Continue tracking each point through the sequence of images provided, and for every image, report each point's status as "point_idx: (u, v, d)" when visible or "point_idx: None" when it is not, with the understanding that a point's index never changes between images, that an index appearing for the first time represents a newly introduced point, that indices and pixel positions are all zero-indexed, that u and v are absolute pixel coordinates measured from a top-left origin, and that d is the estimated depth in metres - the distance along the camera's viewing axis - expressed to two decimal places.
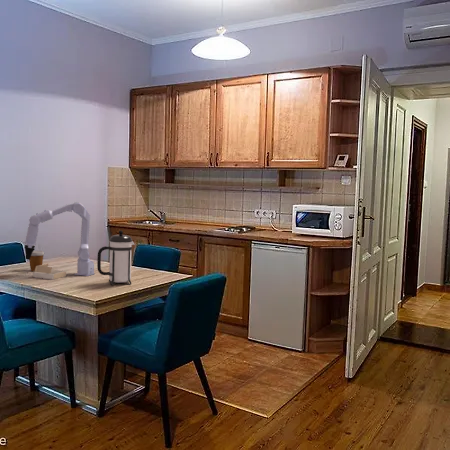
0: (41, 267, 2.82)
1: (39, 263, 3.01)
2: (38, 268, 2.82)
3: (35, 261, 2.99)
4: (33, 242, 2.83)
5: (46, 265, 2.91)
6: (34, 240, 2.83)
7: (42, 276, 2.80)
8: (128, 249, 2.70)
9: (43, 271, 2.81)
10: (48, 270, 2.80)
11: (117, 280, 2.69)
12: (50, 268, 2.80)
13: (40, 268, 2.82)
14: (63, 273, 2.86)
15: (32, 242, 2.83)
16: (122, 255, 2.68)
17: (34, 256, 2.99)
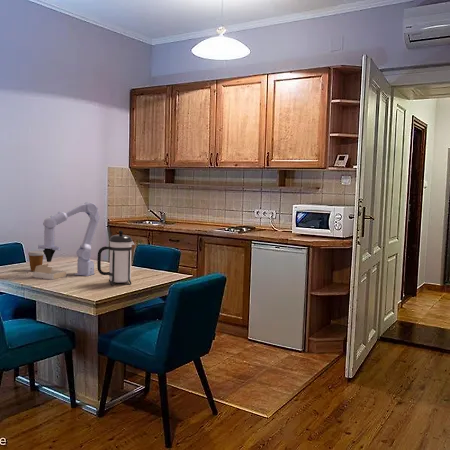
0: (41, 267, 2.82)
1: (39, 263, 3.01)
2: (38, 268, 2.82)
3: (35, 261, 2.99)
4: None
5: (46, 265, 2.91)
6: None
7: (42, 276, 2.80)
8: (128, 249, 2.70)
9: (43, 271, 2.81)
10: (48, 270, 2.80)
11: (117, 280, 2.69)
12: (50, 268, 2.80)
13: (40, 268, 2.82)
14: (63, 273, 2.86)
15: None
16: (122, 255, 2.68)
17: (34, 256, 2.99)
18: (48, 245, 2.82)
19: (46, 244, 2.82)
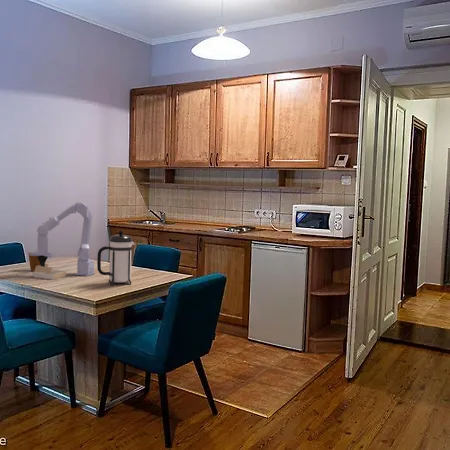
0: (41, 267, 2.82)
1: (39, 263, 3.01)
2: (38, 268, 2.82)
3: (35, 261, 2.99)
4: (47, 251, 2.87)
5: (46, 265, 2.91)
6: (47, 249, 2.87)
7: (42, 276, 2.80)
8: (128, 249, 2.70)
9: (43, 271, 2.81)
10: (48, 270, 2.80)
11: (117, 280, 2.69)
12: (50, 268, 2.80)
13: (40, 268, 2.82)
14: (63, 273, 2.86)
15: (47, 251, 2.86)
16: (122, 255, 2.68)
17: (34, 256, 2.99)
18: (41, 252, 2.84)
19: (39, 251, 2.84)
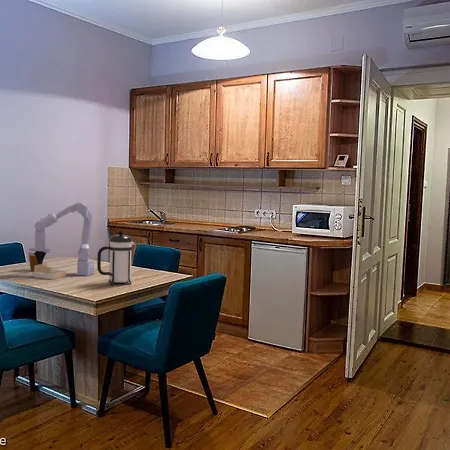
0: (41, 267, 2.82)
1: None
2: (38, 268, 2.82)
3: (35, 261, 2.99)
4: None
5: (45, 265, 2.91)
6: None
7: (42, 276, 2.80)
8: (128, 249, 2.70)
9: (43, 271, 2.81)
10: (48, 270, 2.80)
11: (117, 280, 2.69)
12: (50, 268, 2.80)
13: (40, 268, 2.82)
14: (63, 273, 2.86)
15: (44, 247, 2.87)
16: (122, 255, 2.68)
17: (34, 256, 2.99)
18: (39, 247, 2.84)
19: (37, 246, 2.84)
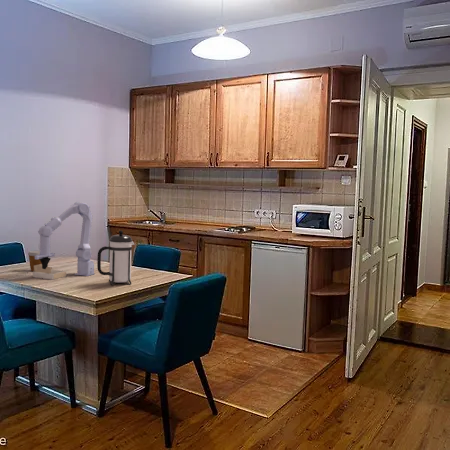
0: (41, 267, 2.82)
1: (39, 263, 3.01)
2: (38, 268, 2.82)
3: (35, 261, 2.99)
4: None
5: None
6: None
7: (42, 276, 2.80)
8: (128, 249, 2.70)
9: (43, 271, 2.80)
10: (48, 270, 2.80)
11: (117, 280, 2.69)
12: (50, 268, 2.80)
13: (39, 268, 2.82)
14: (63, 273, 2.86)
15: None
16: (122, 255, 2.68)
17: (34, 256, 2.99)
18: (50, 253, 2.81)
19: (49, 252, 2.80)
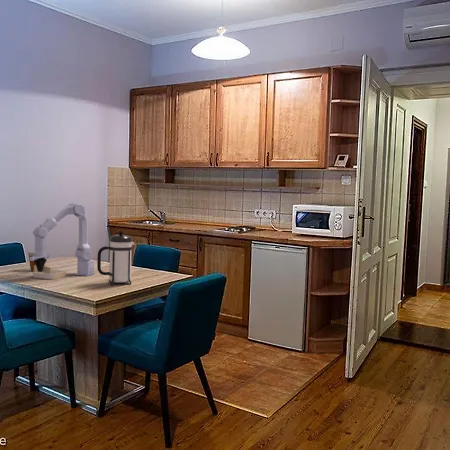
0: None
1: None
2: None
3: None
4: None
5: (44, 265, 2.91)
6: None
7: (42, 276, 2.80)
8: (128, 249, 2.70)
9: (43, 271, 2.80)
10: (47, 270, 2.79)
11: (117, 280, 2.69)
12: (49, 268, 2.79)
13: None
14: (63, 273, 2.86)
15: None
16: (122, 255, 2.68)
17: None
18: (45, 254, 2.77)
19: (44, 253, 2.76)
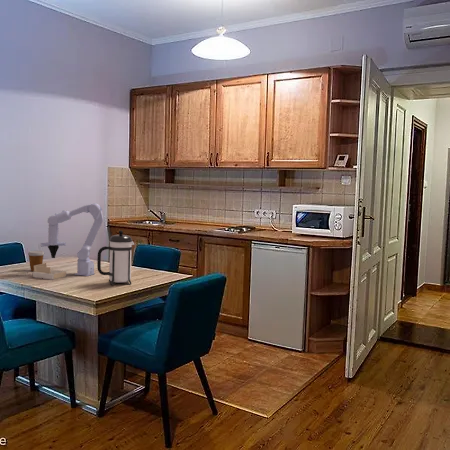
0: (40, 267, 2.81)
1: (39, 263, 3.01)
2: (37, 268, 2.81)
3: (35, 261, 2.99)
4: None
5: (44, 265, 2.91)
6: None
7: (42, 276, 2.80)
8: (128, 249, 2.70)
9: (43, 271, 2.80)
10: (47, 270, 2.79)
11: (117, 280, 2.69)
12: (49, 268, 2.78)
13: (38, 268, 2.81)
14: (63, 273, 2.86)
15: None
16: (122, 255, 2.68)
17: (34, 256, 2.99)
18: (57, 241, 2.92)
19: (55, 241, 2.91)
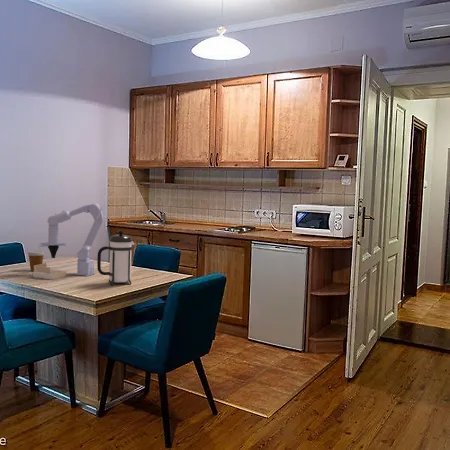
0: (39, 267, 2.80)
1: (39, 263, 3.01)
2: (37, 268, 2.81)
3: (35, 261, 2.99)
4: None
5: (44, 265, 2.91)
6: None
7: (42, 276, 2.80)
8: (128, 249, 2.70)
9: (43, 271, 2.80)
10: (47, 270, 2.79)
11: (117, 280, 2.69)
12: (48, 268, 2.78)
13: (38, 268, 2.81)
14: (63, 273, 2.86)
15: None
16: (122, 255, 2.68)
17: (34, 256, 2.99)
18: (57, 241, 2.92)
19: (55, 241, 2.91)
